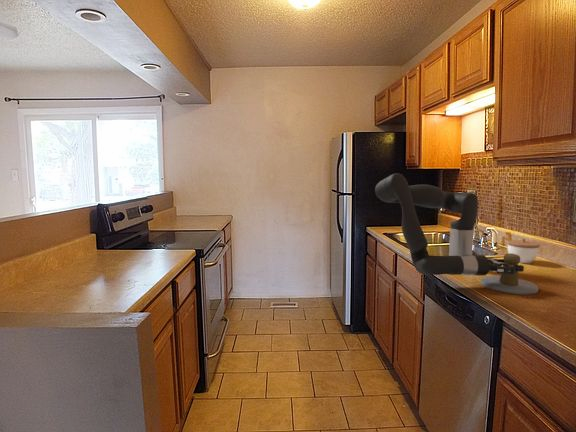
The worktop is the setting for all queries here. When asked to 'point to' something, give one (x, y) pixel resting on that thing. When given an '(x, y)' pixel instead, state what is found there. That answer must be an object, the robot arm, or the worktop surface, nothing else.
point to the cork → (509, 260)
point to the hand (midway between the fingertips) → (515, 265)
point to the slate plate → (509, 286)
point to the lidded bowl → (524, 250)
